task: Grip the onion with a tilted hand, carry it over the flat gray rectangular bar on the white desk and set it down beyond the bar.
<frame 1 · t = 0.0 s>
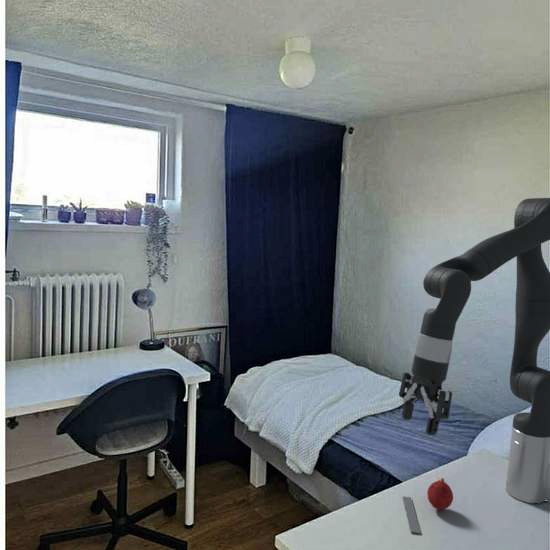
hand: (417, 426, 110), 22 cm above the table, tool pointing down, fingers open, 8 cm apart
onion: (438, 510, 117), on the table
flat gray rectangular bar: (411, 515, 114), on the table
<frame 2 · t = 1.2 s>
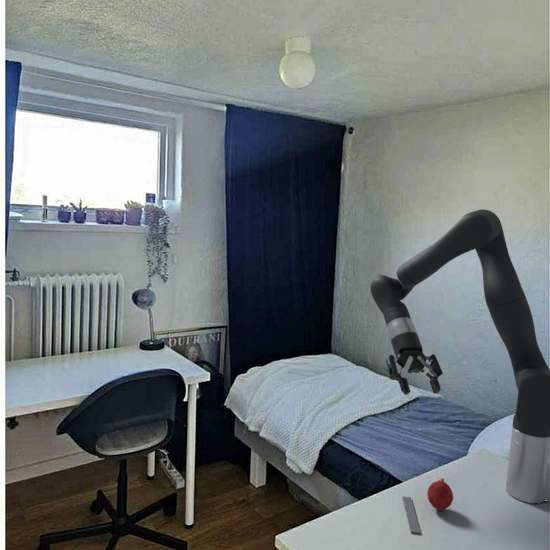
hand: (422, 393, 125), 25 cm above the table, tool tilted 45°, fingers open, 8 cm apart
nothing on the table moved.
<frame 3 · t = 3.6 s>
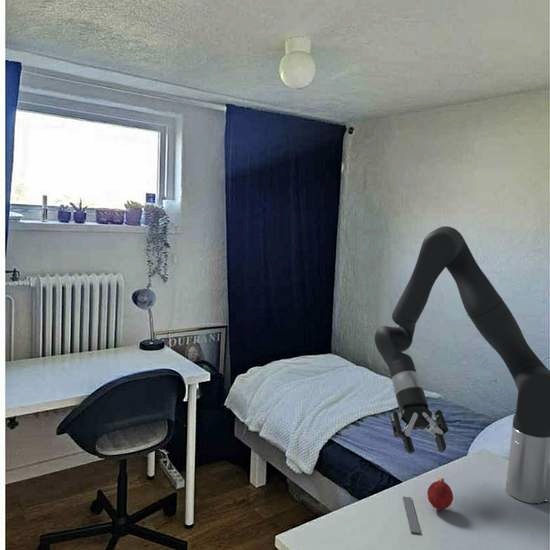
hand: (427, 452, 123), 11 cm above the table, tool tilted 45°, fingers open, 8 cm apart
nothing on the table moved.
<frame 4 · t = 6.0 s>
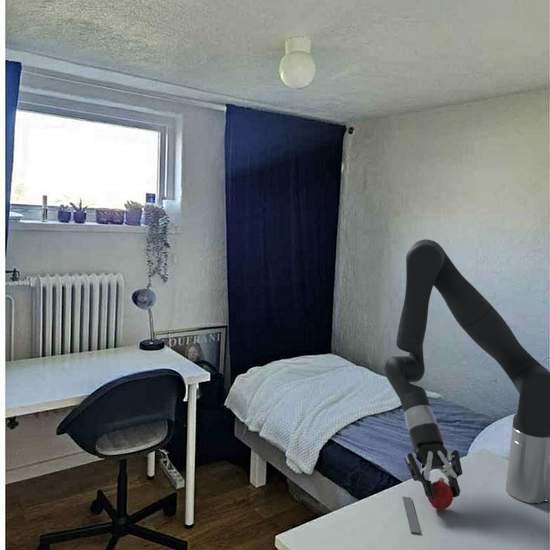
hand: (444, 497, 115), 4 cm above the table, tool tilted 45°, fingers closed on onion, 5 cm apart
onion: (438, 510, 117), on the table, touching gripper
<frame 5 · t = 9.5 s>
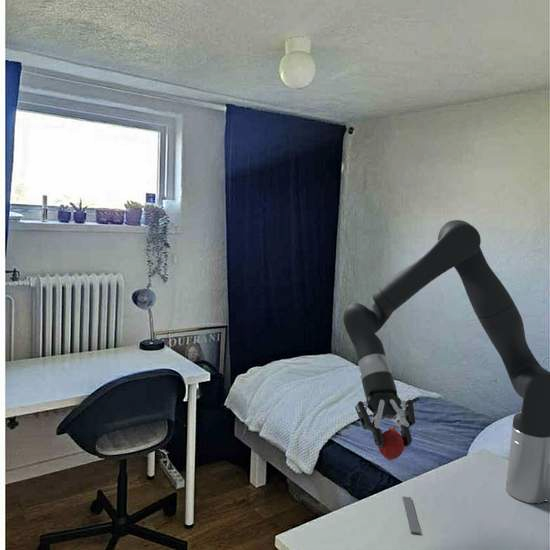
hand: (394, 446, 109), 18 cm above the table, tool tilted 45°, fingers closed on onion, 5 cm apart
onion: (389, 461, 111), point 14 cm above the table, touching gripper
when the fingers open (6 cm above the table, at t = 12.8 s): onion drops 1 cm, on the table.
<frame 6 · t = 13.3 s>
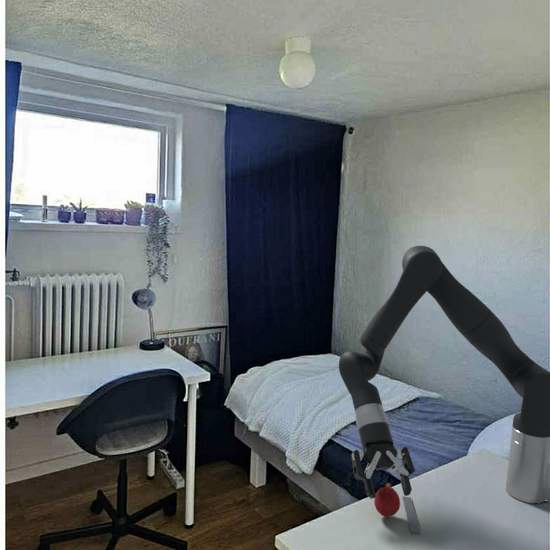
hand: (390, 496, 111), 6 cm above the table, tool tilted 45°, fingers open, 8 cm apart
onion: (386, 518, 113), on the table
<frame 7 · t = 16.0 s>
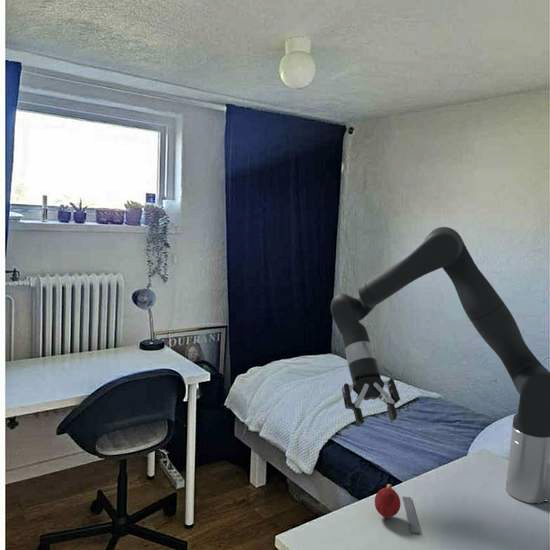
hand: (377, 422, 123), 18 cm above the table, tool tilted 40°, fingers open, 8 cm apart
nothing on the table moved.
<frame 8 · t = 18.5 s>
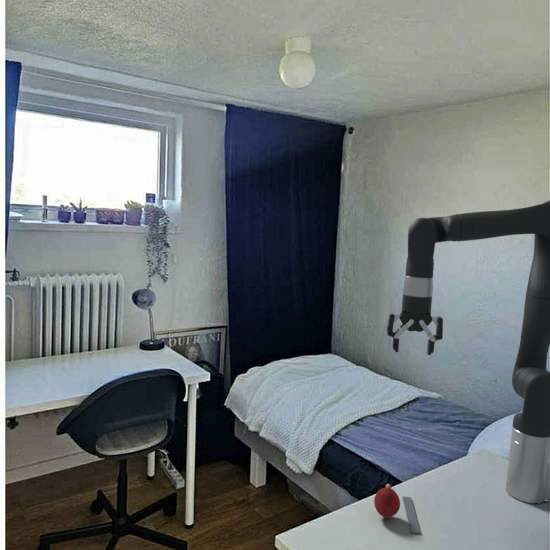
hand: (412, 353, 132), 33 cm above the table, tool pointing down, fingers open, 8 cm apart
nothing on the table moved.
at the end: onion inside the target area (2.0 cm from its centre), on the table; the gripper is holding nothing; onion touching table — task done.
